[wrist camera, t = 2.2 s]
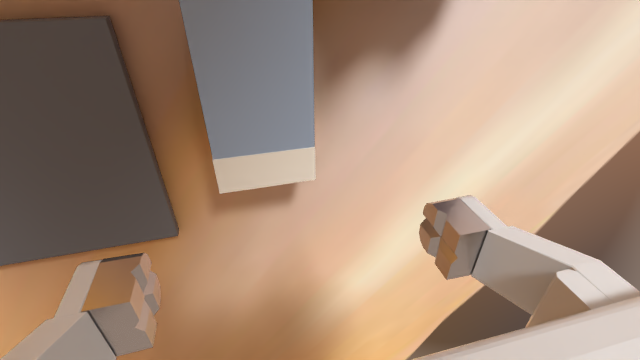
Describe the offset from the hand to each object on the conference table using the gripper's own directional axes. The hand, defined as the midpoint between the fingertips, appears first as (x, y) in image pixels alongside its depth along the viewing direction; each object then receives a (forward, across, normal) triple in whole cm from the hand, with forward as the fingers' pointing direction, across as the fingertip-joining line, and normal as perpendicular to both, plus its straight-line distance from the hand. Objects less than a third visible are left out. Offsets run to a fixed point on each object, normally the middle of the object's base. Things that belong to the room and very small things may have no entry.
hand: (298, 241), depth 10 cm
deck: (+14, 0, 0) cm, 14 cm away
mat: (+14, +14, +3) cm, 20 cm away
